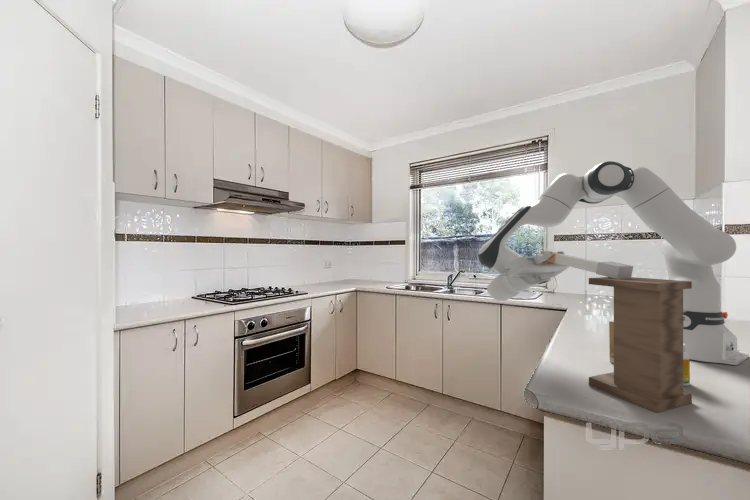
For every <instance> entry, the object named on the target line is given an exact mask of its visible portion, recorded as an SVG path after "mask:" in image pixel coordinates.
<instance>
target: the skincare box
mask: <svg viewBox="0 0 750 500" xmlns="http://www.w3.org/2000/svg"><path fill="white" fill-rule="evenodd" d="M608 329H609V330H608V331H609V332H608V333H609V334H608V337H609V343H608V344H609V363H610V364H611V363H612V364H614V320H609V322H608Z"/></svg>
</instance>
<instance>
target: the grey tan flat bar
mask: <svg viewBox="0 0 750 500" xmlns="http://www.w3.org/2000/svg"><path fill="white" fill-rule="evenodd" d="M547 251H549V252H552V253H553V255H554V257H552V258H551V259H547V260H545V261H549V262H553V263H558V264H562V265H566V266H569V268H575V269H579V270H583V271H587V272H591V273H594V274H596V275H599V276H603V277H611V278H615V279H628V278H631V277H633V270H634V266H633V265H631V264H626V263H625V264H624V263H621V262H616V261H598V260H592V259H587V258H582V257H578V256H574V255H573V256H572V255H568V254H565V253H564V254H565V255H564V254H560V253H557V252H554V251H550V250H541V251H540V254H539V255H541V254H544V253H546V252H547Z"/></svg>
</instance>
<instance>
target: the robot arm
mask: <svg viewBox="0 0 750 500" xmlns="http://www.w3.org/2000/svg"><path fill="white" fill-rule="evenodd" d="M613 196H615V197H619V198H621V200H624V201H625V202H626V203H627V204H628V206H629V207H630V208H631V209H632V211H633V212H634V213H635V215H636V216H637V217H639V219H640V220H641V221H642V222H643V223H644V224H645V225H646V226H647V228H649V229H650V230H652V231H653V232H655V233H656V234H657V235H659V236H660V237H661V238H662V239H664V240H663V241H662V242H661V245H660V249H661V252H662V254H663V256H664V260H665V266H666V271H667V274H668V278H669V279H668V280H677V281H691V282H692V289H683V343H684V344H685V345H686V350H685V351H684V352H686V353H687V354H688V355H689V357H690V360H693V361H697V362H698V361H699V362H706V363H716V364H717V363H718V364H725V365H731V366H732V365H733V366H739V365H740V364H741V363H742V362H744V361H745V360H746V359H748V358H749V357H750V355H749V353H748V352H746V351H742V350H738V338H737V336H736V334H734V333H733V332H732V331H731V330H730V329H729V328H728V327H727V326H726V325H725V323H726V321H725V319H728V316H729V314H728V312H727V311H721V284H720V283H719V282H718V280H717V279H716V276H715V272H714V270H713V266H715V265H718V264H723V263H725V262H727V261H728V260H730V259H731V258H732V257H733V256H734V255H735V253H736V251H737V244H736V240H735V239H734V238H733V237H732V235H731V234H730V233H729V234H728V232H725V231H723V230H721V229H719V228H717V227H716V226H714V225H713V224H712V223H711V222H709V221H708V220H707V219H706V218H705V217H703V216H701V215H700V214H699V213H697V212H695V211H694V210H693V209H691V208H690V207H689V206H688V205H687V204H686V203H685V202H684V201H683V200H682V199H681V197H680V196H678V195H677V193H676V192H675V191H674V190H673V189H672V188H671V187H669V185H668V184H667V183H666V182H665V181H664V180H663V179H662V178H661V177H659V176H658V175H657V174H656V173H654V172H653V171H652V170H651V169H648V168H647V167H644V166H638V167H633V168H631V167H628V166H626V165H624V164H622V163H620V162H617V161H613V160H612V161H608V160H607V161H604V162H601V163H598V164H596V165H595V166H593V167H592V168H591V169H590V170H588V171H587V172H586V173H585V174H584V175H583V176H577V175H574V174H572V173H561V174H559V175H557V176H556V177H555V178H554V179H553V180H552V181H551V182H550V183H549V184H548V185H547V187H546V188H545V189H544V190H543V192H542V193H541V195H540V196H539V198H537V200H536V201H534V202H533V203H532V204H525V205H523V206H521V207H520V208H519V209H518V210H516V212H514V213H513V215H512V216H511V217H510V218H509V219H508V220H506V222H505V223H504V224H503V225H502V226H501V227H500V228H499V229H497V231H496V233H495V234H494V235H492V236H491V237H490V238H489V239H488V240H487V241H486V242H484V244H483V245H482V246H481V247H480V249H479V250H478V252H477V258H478V260H479V263H480V265H482V266H484V267H486V268H488V269H491V270H492V271H494V272H496V273H497V274H498V275H497V276H495V278H494V279H492V280H491V281H490V282H489V284H488V285H487V289H486V290H487V292H488V294H489V296H490V297H491V298H492V299H494V300H496V301H497V302H506V301H508V300H510V299H512V298H515V297H517V296H518V295H520V293H522V292H524V291H527V290H529V289H530V288H533V287H535V286H537V285H541V284H546V283H549V282H550V281H551V280H552V278H555V277H557V276H558V275H560V274H562V273H563V272H564V271H566V270H568V269H569V268H570V266H566V265H562V264H558V263H553V262H549V261H545V260H547V259H551V258H552V257H554V255H553V253H552V252H553V251H551V252H549V251H550V250H546V251H547V252H546V253H544V254H541V253H540V254H541V255H540V254H539V255H535V256H523V255H522V254H520V253H519V252H516V251H514V250H513V249H512V248H510V247H508V246H507V245H505V244H506V242H507V241H508V240H509V239H510V237H512V236H513V234H515V232H517V231H518V229H519V228H520V227H523V226H526V225H529V226H530V225H532V226H537V227H541V228H554V227H557V226H559V225H561V224H562V223H563V222H564V221H565V220H566V219H567V218H568V216H569V214H570V213H571V212H572V210H573V209H574V208H575V206H576V204H578V203H579V202H582V203H586V204H591V205H593V204H599V203H602V202H604V201H606V200H608V199H610V198H612V197H613ZM556 253H560V254H564V255H566V253H565V252H564V251H556Z"/></svg>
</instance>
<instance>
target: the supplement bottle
mask: <svg viewBox="0 0 750 500" xmlns="http://www.w3.org/2000/svg"><path fill="white" fill-rule="evenodd" d="M685 350H686V345H685V344H684V343H683V387H685V386H690V384H691V378H690V377H691V373H690V367H691V365H690V361H691V359H690V357H689V355H688V354H687V353H686V352H684V351H685Z"/></svg>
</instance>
